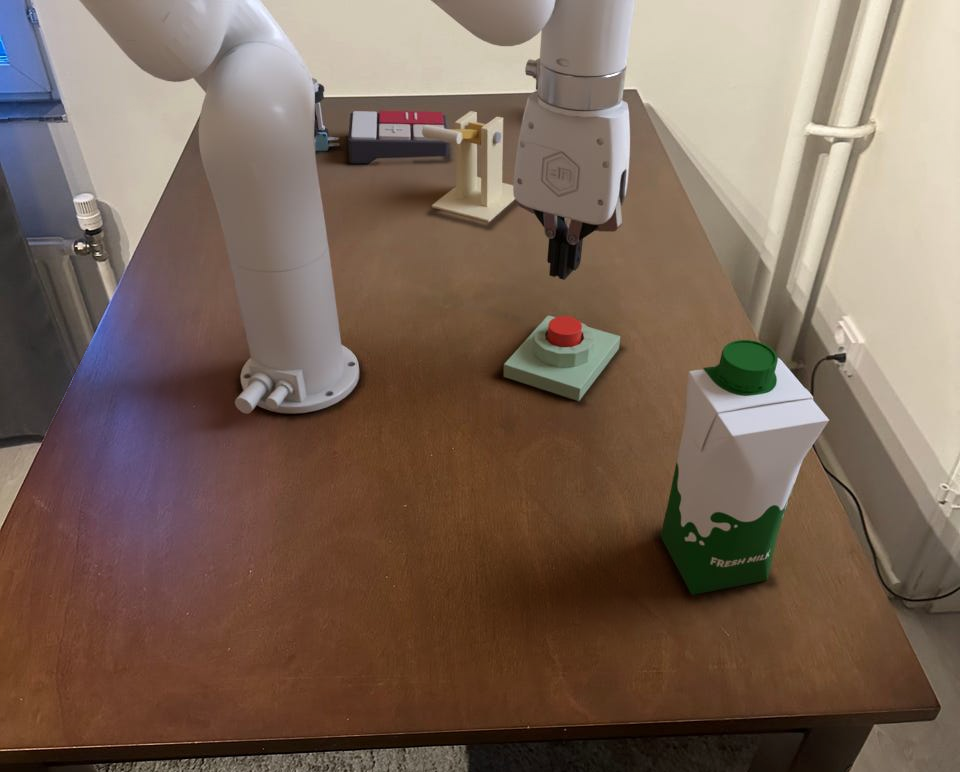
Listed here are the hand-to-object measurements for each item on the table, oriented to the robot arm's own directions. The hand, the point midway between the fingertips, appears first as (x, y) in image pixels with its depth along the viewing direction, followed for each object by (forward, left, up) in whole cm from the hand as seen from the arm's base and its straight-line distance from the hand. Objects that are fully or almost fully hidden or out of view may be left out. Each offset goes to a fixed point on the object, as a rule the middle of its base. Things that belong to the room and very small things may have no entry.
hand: (562, 271), depth 91 cm
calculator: (+47, +38, -11) cm, 62 cm away
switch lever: (+28, +21, -1) cm, 36 cm away
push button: (+43, +50, -11) cm, 67 cm away
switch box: (0, -1, -11) cm, 11 cm away
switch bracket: (+33, +20, -11) cm, 41 cm away
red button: (0, -1, -8) cm, 8 cm away
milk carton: (-24, -21, -11) cm, 34 cm away
